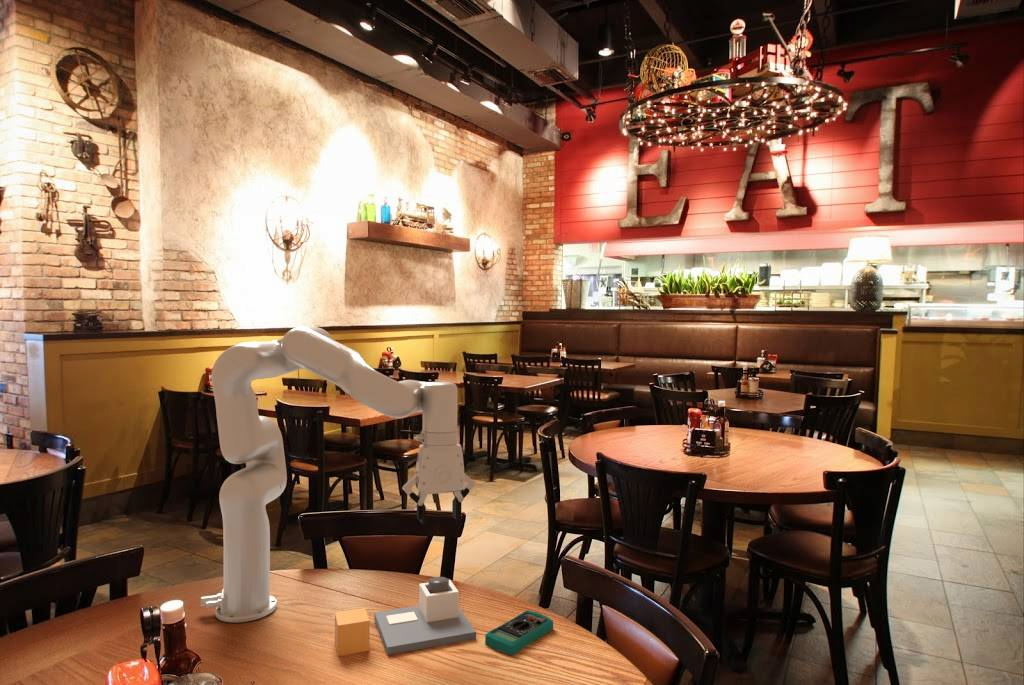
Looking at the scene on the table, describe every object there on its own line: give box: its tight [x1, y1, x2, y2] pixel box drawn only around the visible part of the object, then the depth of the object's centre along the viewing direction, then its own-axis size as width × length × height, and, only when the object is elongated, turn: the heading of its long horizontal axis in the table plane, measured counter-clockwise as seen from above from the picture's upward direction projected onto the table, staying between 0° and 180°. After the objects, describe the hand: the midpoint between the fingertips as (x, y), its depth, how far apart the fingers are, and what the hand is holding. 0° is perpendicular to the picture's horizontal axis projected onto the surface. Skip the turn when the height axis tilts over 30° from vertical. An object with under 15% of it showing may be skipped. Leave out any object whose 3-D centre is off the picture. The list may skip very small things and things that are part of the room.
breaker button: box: [428, 576, 450, 594], centre depth 134 cm, size 4×4×4 cm
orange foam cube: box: [334, 607, 371, 657], centre depth 122 cm, size 6×6×6 cm
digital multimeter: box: [484, 610, 554, 656], centre depth 127 cm, size 7×15×3 cm, turn 141°
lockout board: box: [373, 579, 477, 656], centre depth 130 cm, size 18×16×7 cm
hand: (439, 520), depth 134 cm, fingers open, 6 cm apart
